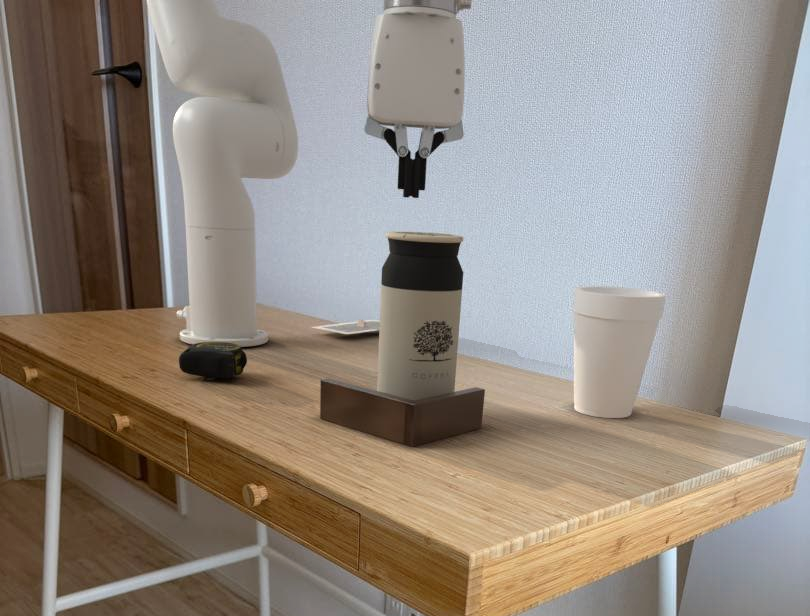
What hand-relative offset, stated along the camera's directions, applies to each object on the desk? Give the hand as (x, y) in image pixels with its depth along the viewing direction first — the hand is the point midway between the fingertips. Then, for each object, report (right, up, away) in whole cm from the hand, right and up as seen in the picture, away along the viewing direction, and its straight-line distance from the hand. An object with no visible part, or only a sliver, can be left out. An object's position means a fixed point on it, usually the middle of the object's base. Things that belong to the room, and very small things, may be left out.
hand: (410, 197), depth 92 cm
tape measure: (-23, -19, +7) cm, 31 cm away
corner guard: (0, -26, -8) cm, 28 cm away
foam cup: (+22, -24, +2) cm, 32 cm away
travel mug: (0, -25, -5) cm, 26 cm away
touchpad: (-8, -5, +42) cm, 43 cm away
